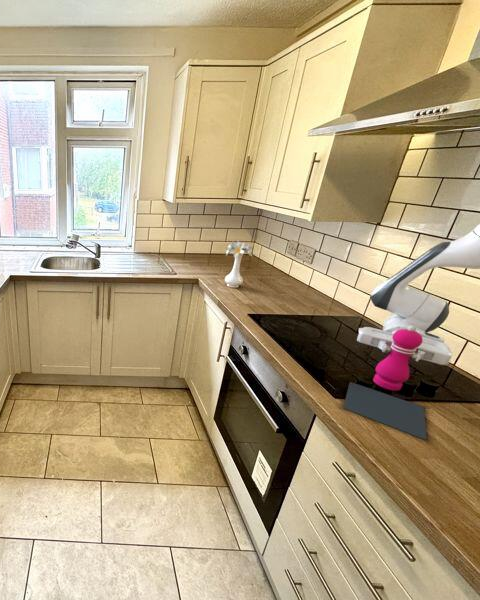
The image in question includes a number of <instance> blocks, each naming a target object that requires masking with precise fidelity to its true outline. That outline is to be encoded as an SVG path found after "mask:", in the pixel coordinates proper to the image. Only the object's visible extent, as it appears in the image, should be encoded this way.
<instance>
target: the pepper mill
mask: <svg viewBox="0 0 480 600" xmlns="http://www.w3.org/2000/svg"><path fill="white" fill-rule="evenodd" d="M415 331H416V327H415V326H412V325H411V326H408V328H407V329H401V330H398V331H396V332H395V333H394V334H393V337H392V338H393V341H394V342H393V343H392V345H391V348H392V350H391V351H389V354H388V355H387V356H386V357H385V358H384V359H382V360H381V361H380V362H378V363H377V365H376V366H375V372H376V373H375V374H374V376H373V378H372V381H373V383H375V384H376V385H377V386H379V387H381V388H382V389H385V390H389V391H393V392H395V391H396V392H397V391H400V390H401V389H402V387H403V385H404V384H403V383H404V382H407V381H408V380H409V377H410V372H411V371H410V367H409V360H410V358H411V354H414V353H415V351H416V349H415V348H416V347H419V346H420V345H421V344H422V341H423V339H422V336H421V335H420V334H419V333H417V332H415Z"/></svg>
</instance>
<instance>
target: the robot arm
mask: <svg viewBox="0 0 480 600" xmlns="http://www.w3.org/2000/svg"><path fill="white" fill-rule="evenodd" d="M436 268H460V269H468V270H480V223H478V224H477V225H476V226H475V227H474V228H473V229H472V230H471V231H470V232H469V233H467V234H466V235H463V236H462V237H460V238H457V239H455V240H452V241H442V242H439V243H438V244H435V245H434V246H433V247H431V248H429V249H428V250H427V251H425V252H424V253H423V254H420V255H419V256H418V257H417V258H416V259H414V260H413V261H411V262H410V263H408V264H407V265H406V266H404V267H403V268H401V269H400V270H399V271H398V272H396V273H395V274H393V275H392V276H390V277H389V278H387V279H386V280H385V281H383V282H381V283H379V284H378V285H377V286H376V287H374V289H373V290H372V291H371V293H370V295H369V297H370V301H371V303H372V304H373V307H376V308H378V309H381V310H384V311H388V312H390V313H392V314H390V315H389V316H388V317H387V318H386V319H385V320H384V323H383V325H382V329H379V328H375V327H370V326H364V327H359V328H358V330H357V332H358V335H357V338H356V341H357V342H358V343H360V344H364V345H367V346H370V347H375V348H377V349H379V350H381V352H382V353H386V354H388V355H389V354H390V352H391V350H392V348H391V345H392V343H393V342H394V341H393V338H392V337H393V334H394V333H395V332H396V331H398V330H401V329H407V328H408V326H411V325H412V326H415V327H416V331H415V332H417V333H419V334H420V335H421V336H422V339H423V341H422V344H421V345H420V346H419V347H416V348H415V349H416V351H415V353H414V354H411V356H410V357H409V360H410V361H413V362H414V361H415V362H419V360H420V361H421V360H422V361H426V362H430V363H433V364H437V365H440V366H447V365H449V363H450V361H451V359H452V357H453V352H452V350H451V348H450V346H449V345H448V344H446V343H445V338H444V337H442V336H439V335H435V334H432V333H430V332H432V331H435V330H436V329H439V327H440V326H441V325H443V324H444V322H445V321H446V320H447V318H448V317H449V315H450V305H449V303H448V302H447V300H445V299H444V298H443V299H442V298H440V297H438V296H436V295H433V294H431V293H428V292H426V291H422V290H420V289H418V288H415V287H413V286H411V285H408V284H410V283H411V282H413V281H414V280H416V279H417V278H419V277H420V276H422V275H423V274H424V273H426V272H428V271H430V270H432V269H436Z"/></svg>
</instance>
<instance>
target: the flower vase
mask: <svg viewBox="0 0 480 600" xmlns="http://www.w3.org/2000/svg"><path fill="white" fill-rule="evenodd" d="M226 249H227V250H226V252H225V257H227V256H228V255H229V254H232V255H233V257H234V262H233V267H232V270H231V271H230V273H229V274H227V275H226V276H225V278H224V282H225V283H226V287H229V288H234V289H235V288H239V287H240V286H241V285H242V284H243V283H244V279H243V276H242V275H241V273H240V268H241V267H240V266H241V262H242V258H243V256H244V255H245V254H244V253H246V254H248V255H249V256H250V257H253V254H252V252H253V249H252V246H251V244H250V242H249V243H248V245H247V244H246V242H245V241H244V242H241V241H239V240H238V241H236V242H235V240H233V241H232V242H230V244H229V245H228V246H226Z"/></svg>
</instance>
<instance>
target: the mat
mask: <svg viewBox="0 0 480 600" xmlns="http://www.w3.org/2000/svg"><path fill="white" fill-rule="evenodd" d="M348 383H349V384H348V388H347V392H346V395H345V400H344V404H343V407H342V408H343V409H344V410H347V411H349V412H352V413H354V414H357V415H360V416H361V417H364V418H367V419H370V420H372V421H375V422H378V423H380V424H383V425H385V426H388V427H391V428H392V429H396V430H399V431H401V432H403V433H405V434H409V435H411V436H414V437H417V438H419V439H421V440H423V441H427V440H428V439H427V430H426V419H425V418H426V417H425V408H424V406H422V405H420V404H418V403H417V404H416V403H413V402H412V401H411V402H410V401H408V400H405V399H402V398H399V397H396V396H394V395H391V394H388V393H384V392H382V391H379V390H375V389H372V388H370V387H368V386H367V387H366V386H363V385H361V384H357V383H356V382H352V381H349V382H348Z"/></svg>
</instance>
